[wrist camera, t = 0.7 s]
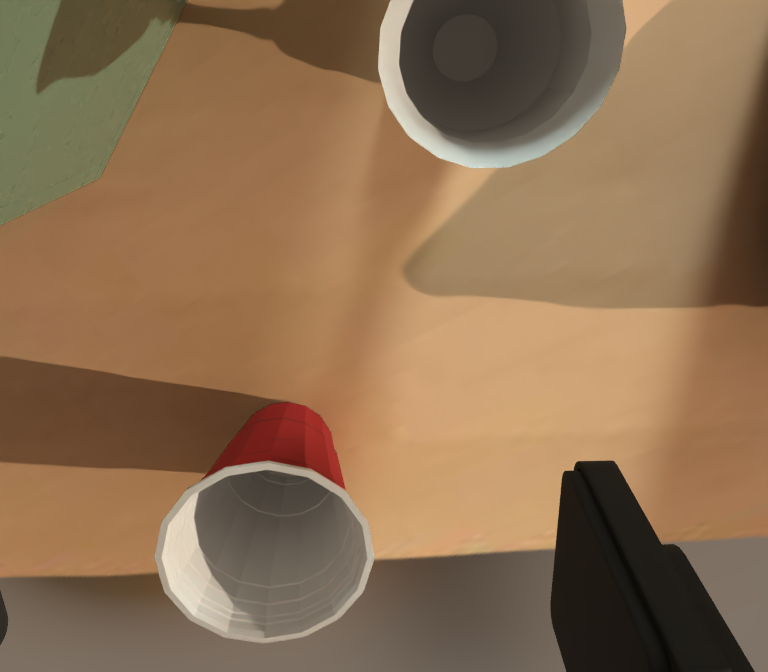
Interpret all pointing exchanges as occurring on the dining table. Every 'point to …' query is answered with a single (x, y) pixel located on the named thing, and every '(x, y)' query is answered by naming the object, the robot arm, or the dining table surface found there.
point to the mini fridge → (70, 89)
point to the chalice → (498, 73)
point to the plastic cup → (267, 534)
